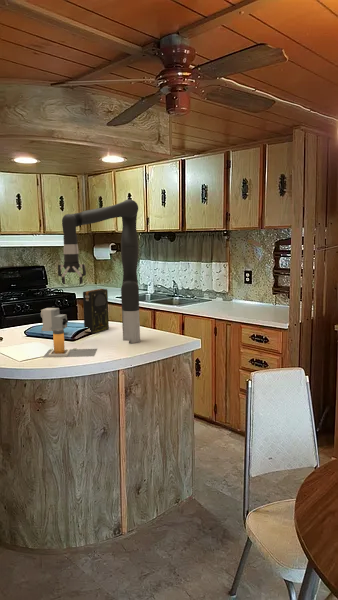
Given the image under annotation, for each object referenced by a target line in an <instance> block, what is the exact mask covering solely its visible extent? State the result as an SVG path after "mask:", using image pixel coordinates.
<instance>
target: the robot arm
mask: <svg viewBox="0 0 338 600" xmlns="http://www.w3.org/2000/svg"><path fill="white" fill-rule="evenodd" d="M138 211H139V205H138V203H137V201H135V200H133V199H129V198H128V199H125V200H124V201H122V202H119V203H116V204H113V205H109V206H106V207H105V206H104V207H98V208H91V209H87V210H83V211H81V212H77V213H67V214H65V215H63V216H62V219H61V226H62V232H63V233H62V234H63V264H60V263H59V264H58V265H57V276H58V277H61V283H62V285H66V277H65V276H66V275H67V273H76V274H77V275H78V276H79V279H78V281H79V285H82V284H83V281H84V280H83V278H84V276H87V271H86V264H85V263H83V264H80V259H79V257H80V256H79V254H80V253H79V245H78V234H77V227H80V226H84V225H86V226H87V225H92V224H95V223H96V224H97V223H100V222H103V221H107V220H110V219H111V220H112V219H115V218H121V222H122V223H121V224H122V229H121V230H122V231H121V241H120V257H121V264H122V265H121V266H122V270H123V271H122V273H123V274H122V285H121V289H120V292H121V293H120V294H121V295H120V299H121V315H122V317H121V318H122V319H121V320H122V322H121V324H122V326H121V327H122V341H124V342H125V341H127V342H128V343H129V344H135V343H141V325H140V324H141V323H140V293H139V292H140V291H139V282H138V270H137V269H138V262H139V239H138V238H139V237H138V232H137V220H138V219H137V217H138ZM63 268H64V271H63V273H62V269H63ZM80 268H81V269H82V272H81V270H79V269H80Z"/></svg>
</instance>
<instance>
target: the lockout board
mask: <svg viewBox="0 0 338 600" xmlns="http://www.w3.org/2000/svg"><path fill="white" fill-rule="evenodd" d="M97 352H98V348H77V347H76V348H75V347H74V348H70V349H66V348H65V354H54V348H50V349H48V351H47V352H46V353H45V354H44V355H43V356H42V358H43V359H45V358H48V359H49V358H80V357H86V358H87V357H95V355H96V353H97Z"/></svg>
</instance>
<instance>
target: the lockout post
mask: <svg viewBox="0 0 338 600" xmlns="http://www.w3.org/2000/svg"><path fill="white" fill-rule="evenodd" d="M64 329H65V328H64ZM64 329H54V330H53V336H52V338H53V350H54V354H65V349H66V348H65V334H64V333H65V332H64V331H65V330H64Z"/></svg>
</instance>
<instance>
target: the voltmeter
mask: <svg viewBox="0 0 338 600" xmlns="http://www.w3.org/2000/svg"><path fill="white" fill-rule="evenodd" d="M108 297H109V294H108V289H107V288H99V289H98V288H97V289H92V290H86V291H83V292H82V302H83V303H82V305H83V306H82V307H83V328H84V327H88V328H90V330H91V333H90V334H97V333H101V332H105V331H107V330H109V329H110V325H109V324H110V322H109V298H108Z"/></svg>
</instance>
